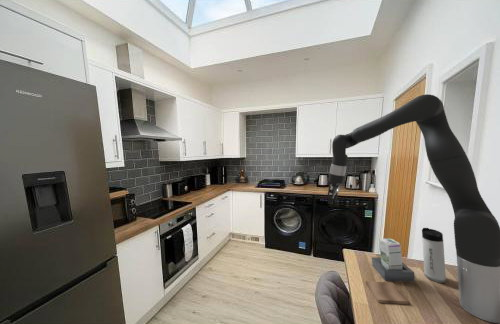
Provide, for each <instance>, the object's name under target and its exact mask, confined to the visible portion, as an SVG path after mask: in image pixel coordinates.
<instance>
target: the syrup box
mask: <svg viewBox="0 0 500 324" xmlns="http://www.w3.org/2000/svg"><path fill="white" fill-rule="evenodd" d="M378 240H379V252H380V254H379V255H380V258H381V264H382V265H383V266H384V267H385V268H386V269H392V270H403V268H402V262H403V259H402V258H403V257H402V255H403V254H402V246H401V243H399V242H398V241H397V240H395V239H393V238H389V237H388V238H387V237H386V238H385V237H384V238H380V239H378Z"/></svg>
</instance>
